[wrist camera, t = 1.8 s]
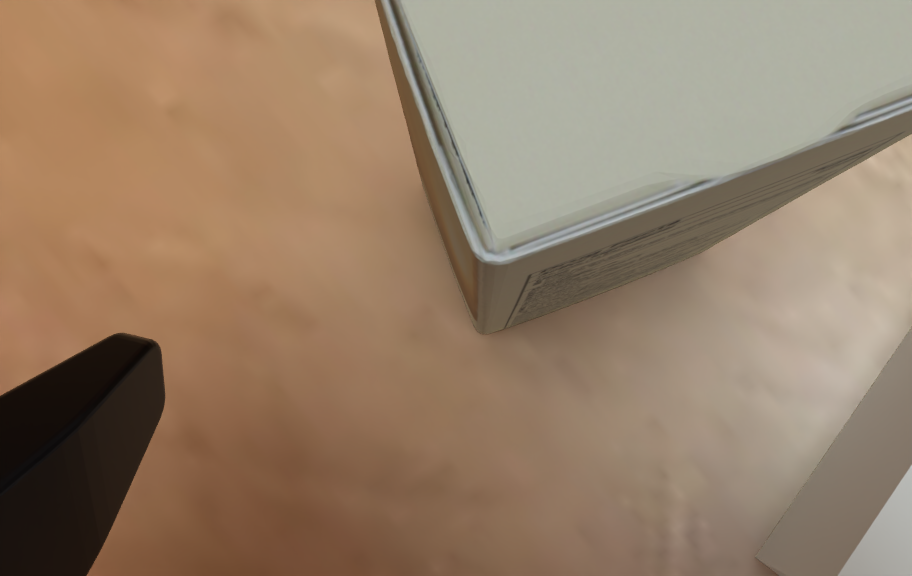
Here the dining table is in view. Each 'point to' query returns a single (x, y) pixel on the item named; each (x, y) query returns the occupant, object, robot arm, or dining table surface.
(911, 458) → the grey block
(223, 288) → the dining table surface
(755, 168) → the skincare box
